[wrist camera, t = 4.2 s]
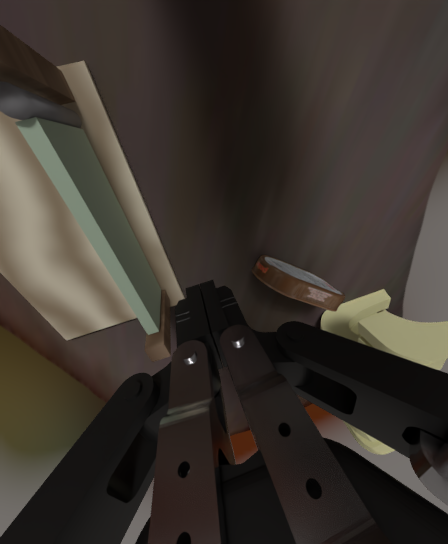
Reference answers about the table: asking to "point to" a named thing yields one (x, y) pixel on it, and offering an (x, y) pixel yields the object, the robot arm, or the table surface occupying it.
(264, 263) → the tin
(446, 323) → the pale yellow c-shaped piece
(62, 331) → the gate frame
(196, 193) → the table surface
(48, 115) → the gate
